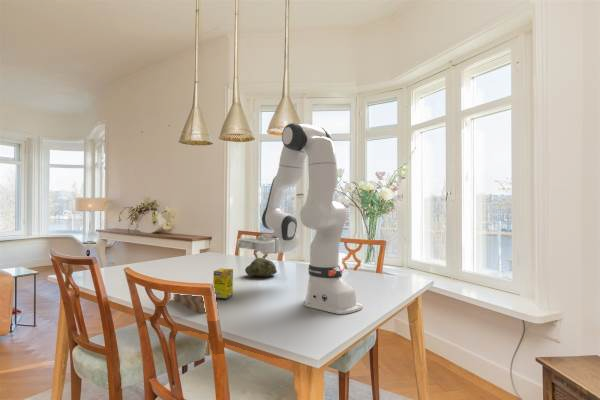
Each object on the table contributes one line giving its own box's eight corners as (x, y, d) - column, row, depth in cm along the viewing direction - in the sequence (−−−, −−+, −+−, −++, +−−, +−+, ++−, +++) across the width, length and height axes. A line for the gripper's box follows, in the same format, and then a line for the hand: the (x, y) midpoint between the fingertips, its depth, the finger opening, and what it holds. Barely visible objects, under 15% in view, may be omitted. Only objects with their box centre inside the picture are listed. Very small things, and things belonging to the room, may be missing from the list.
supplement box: (227, 300, 133) (227, 271, 133) (212, 299, 134) (213, 270, 134) (233, 296, 139) (233, 269, 139) (219, 295, 140) (219, 268, 140)
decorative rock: (251, 275, 185) (251, 257, 187) (280, 275, 182) (279, 256, 183) (241, 278, 171) (241, 258, 172) (272, 278, 168) (271, 257, 169)
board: (208, 312, 118) (208, 294, 118) (200, 313, 116) (200, 296, 116) (181, 298, 134) (181, 282, 134) (173, 299, 132) (174, 283, 132)
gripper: (253, 234, 158) (226, 235, 149) (281, 238, 143) (253, 240, 134) (253, 248, 158) (226, 250, 149) (281, 253, 143) (253, 256, 134)
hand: (239, 245), depth 141 cm, fingers closed
